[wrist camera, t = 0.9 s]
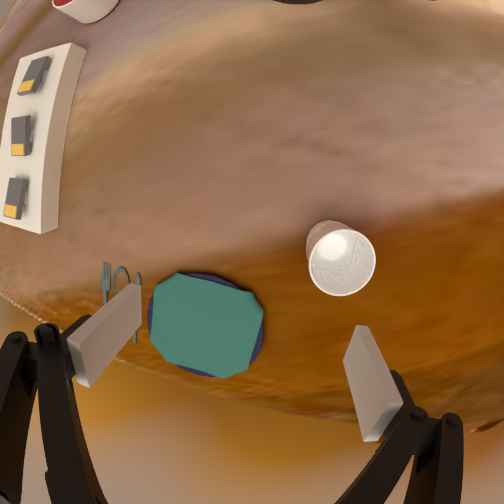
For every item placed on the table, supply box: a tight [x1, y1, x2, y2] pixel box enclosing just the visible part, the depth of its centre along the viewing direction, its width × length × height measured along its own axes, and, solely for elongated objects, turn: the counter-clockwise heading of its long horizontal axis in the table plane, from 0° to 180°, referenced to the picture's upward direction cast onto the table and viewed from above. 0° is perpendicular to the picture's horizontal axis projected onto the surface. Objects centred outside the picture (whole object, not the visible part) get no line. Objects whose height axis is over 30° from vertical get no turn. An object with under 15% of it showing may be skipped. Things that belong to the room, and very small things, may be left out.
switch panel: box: [0, 43, 87, 234], centre depth 36 cm, size 34×16×6 cm, turn 169°
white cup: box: [306, 220, 376, 296], centre depth 36 cm, size 8×8×10 cm
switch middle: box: [11, 115, 31, 156], centre depth 32 cm, size 7×5×1 cm
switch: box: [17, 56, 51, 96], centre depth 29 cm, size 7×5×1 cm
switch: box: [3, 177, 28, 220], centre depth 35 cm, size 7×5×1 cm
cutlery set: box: [100, 262, 264, 378], centre depth 45 cm, size 20×30×2 cm, turn 77°
